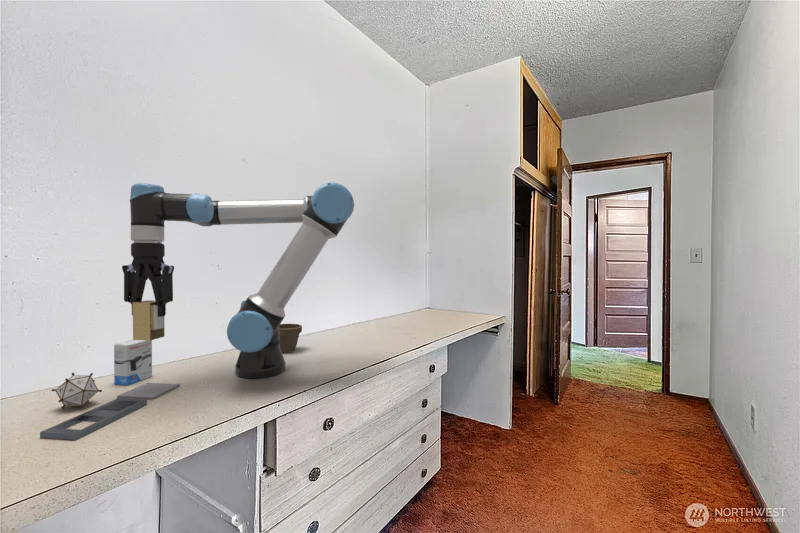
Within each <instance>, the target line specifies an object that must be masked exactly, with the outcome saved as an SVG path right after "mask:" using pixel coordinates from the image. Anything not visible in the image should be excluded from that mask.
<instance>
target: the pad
mask: <svg viewBox="0 0 800 533" xmlns="http://www.w3.org/2000/svg"><path fill="white" fill-rule="evenodd" d="M180 387H181V384H180V383H161V382H146V383H144V384H142V385H139V386H136V387H134V388H132V389H130V390H127V391H125V392H122V393H120V394H118V395H117V396H116V399H117V398H121V399H128V398H129V399H141V400H147V399H148V400H147V401H149V400H151V401H152V400H155V399H157V398H159V397H161V396H163V395H165V394H167V393H170V392H171V391H173V390H176V389H177V388H180Z"/></svg>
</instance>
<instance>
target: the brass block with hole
mask: <svg viewBox="0 0 800 533" xmlns="http://www.w3.org/2000/svg"><path fill="white" fill-rule="evenodd" d="M154 303H156V301H155V299H153V300H152V299H151V300H149V299H147V300H142V301H139V302H133V316H132V340H149V341H151V340H152V341H153V340H158V339H161V338H164V337H165V327H164V328H160V329H156V330H154V324H153V305H154Z"/></svg>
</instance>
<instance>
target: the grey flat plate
mask: <svg viewBox="0 0 800 533" xmlns="http://www.w3.org/2000/svg"><path fill="white" fill-rule="evenodd" d="M147 405H148V400H147V399H128V398H117V397H116V398H115V399H113V400H111V401H109V402H106V403H104V404H101V405H99V406H97V407H94V408H92V409H90V410H88V411H86V412H83V413H80V414H78V415H77V416H74V417H72V418H69V419H67V420H65V421H62V422H60V423H58V424H56V425H53V426H51V427H48V428H47V429H44V430H42V431H39V438H40V439H49V440H64V441H77V440H79V439H81V438H84V437H85V436H87V435H90V434H91V433H93V432H95V431H97V430H99V429H101V428H103V427H105V426H107V425H109V424H111V423H113V422H115V421H116V420H119V419H121V418H123V417H125V416H127V415H129V414H131V413H133V412H135V411H137V410H138V409H139V410H140V409H141V408H143V407H145V406H147ZM81 422H94V423H92V424H90V425H87V426H86V427H83V428H81V429H77V428H75V429H73V428H70V427H72V426H75V425H76V424H77V425H78V423H81Z"/></svg>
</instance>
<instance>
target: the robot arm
mask: <svg viewBox="0 0 800 533" xmlns="http://www.w3.org/2000/svg"><path fill="white" fill-rule="evenodd" d="M354 200H355V199H354V197H353V195H352V193H351V192H350V190H349V189H348V188H347V187H346V186H344V185H343V184H341V183H338V182H326V183H323V184H321V185H320V186H319V187H318V188H316V189H315V191H314V192H313V194H312V195H305V197H304V198H297V199H296V198H293V199H292V198H289V199H237V200H236V199H234V200H233V199H232V200H229V199H228V200H225V199H224V200H213V199H212V197H210V195H208V194H200V193H169V192H165V188H164V187H163V186H161V185H159V184H155V183H141V182H139V183H138V182H137V183H134V184H133V185H131V188H130V198H129V204H130V205H129V206H130V241H132V243H131V244H130V256H131V257H132V258H133V259H132V262H131V263H130V264H127V265H121V270H122V271H123V300H124V302H126V303H130V304H131V316H132V317H133V302H139V301H143V297H144V292H145V288H146V283H147V281H148V280H149V282H150V284H151V289H152V292H153V295H154V300H155V301H156V303H154V305H153V324H154V330H156V329H160V328H164V329H165V316H166V314H167V310H166V307H167V306H166V305H167V304H168V303H170V302H171V303H172V302H173V301H174V285H173V284H174V283H173V282H174V281H173V279H174V278H173V273H174V270H175V266H174V265H168V264H166V263H165V261H164V257H165V256H166V255H165V254H166V253H165V250H166V249H165V244H164V242H165V221H167V222H185V223H186V222H188V223H192V224H195V225H198V226H200V227H212V226H221V225H224V226H225V225H228V226H229V225H254V224H255V225H261V224H262V225H263V224H265V225H266V224H292V223H293V224H295V223H296V224H298V223H300V224H301V223H302V224H301V226H300V227H299V229H298V230H297V231H296V233H295V235H294V236H293V237H292V240H290V242H289V244H288V246H286V249H285V250H284V252H283V254H281V256H280V258H279V259H278V261H277V262H276V264H275V265H274V267H273V268H272V270H271V271H270V272H269V275H268V276H267V277H266V280H265V281H264V282H263V283H262V286H260V288H259V290H258V292H257V293H253V294H249V295H248V297H247V298H246V300H243V301H241V304H240V307H239V310H238V312H237V313H236V314H235V315H233V316H232V317H231V318H230V320H229V322H228V324H227V328H226V337H227V339H228V341H229V343H230V344H231V346H232V347H234V348H235V349H236V350H238V351H240V352H239V355H238V357H237V360H236V363H235V367H234V373H235V376H237V377H238V378H244V379H260V378H268V377H272V376H276V375H279V374H281V373H283V372H284V371H285V370H286V360H285V357H284V355H283V354H284V353H282V351H281V349H280V327H279V325H280V324H282V322H283V321H284V318H285V317H286V311H285V308H286V306H287V304H288V303H289V301H290V300H291V298H292V297H293V295H294V294H295V292H296V290H297V289H298V288H299V286H300V284H301V282H302V281H303V279H304V278H305V276H306V275H307V273H308V272H309V270H310V269H311V267H312V266H313V264H314V262H315V261H316V260H317V258H318V256H319V255H320V253H321V251H322V250H323V249H324V247H325V245H326V244H327V243H328V241H329V239H335V238H336V237H337V236H338V234H339V233H340V232H341V230H342V229H343V227H344V225H345V224H346V222H347V221H348V219H349V218H350V217H351V216H352V214H353V212H354V211H355V210H354V209H355V201H354Z"/></svg>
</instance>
